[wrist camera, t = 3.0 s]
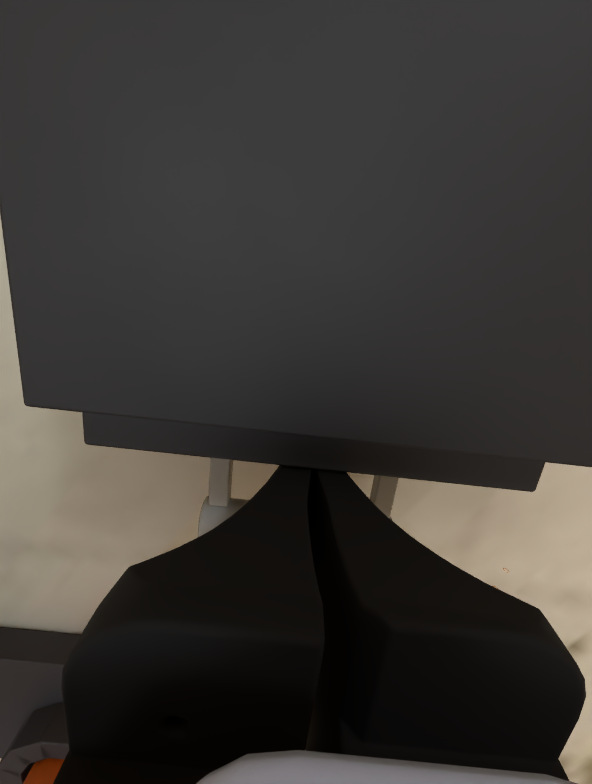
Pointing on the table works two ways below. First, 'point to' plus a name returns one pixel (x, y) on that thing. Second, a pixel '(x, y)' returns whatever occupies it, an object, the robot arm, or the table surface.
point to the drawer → (303, 459)
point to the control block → (31, 699)
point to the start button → (44, 771)
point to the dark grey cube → (306, 216)
